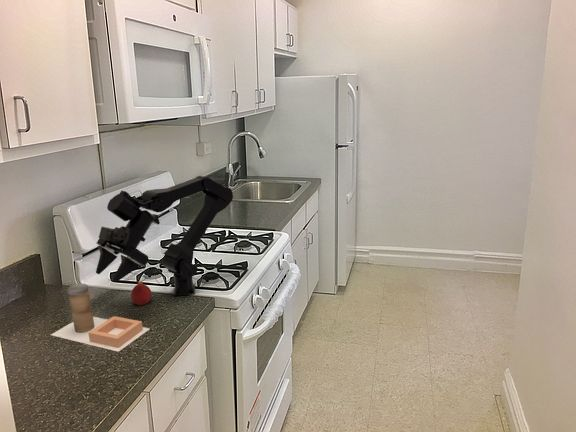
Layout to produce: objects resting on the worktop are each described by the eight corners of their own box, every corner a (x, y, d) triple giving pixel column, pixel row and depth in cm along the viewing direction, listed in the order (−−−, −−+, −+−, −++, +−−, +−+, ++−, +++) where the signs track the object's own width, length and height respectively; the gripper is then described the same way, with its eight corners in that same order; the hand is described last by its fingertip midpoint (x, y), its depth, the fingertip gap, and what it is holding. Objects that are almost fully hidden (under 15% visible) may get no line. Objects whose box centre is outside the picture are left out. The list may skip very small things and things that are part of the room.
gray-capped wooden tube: (77, 324, 135) (70, 284, 132) (96, 322, 136) (89, 282, 133) (72, 333, 130) (65, 292, 127) (92, 331, 131) (85, 290, 128)
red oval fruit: (147, 311, 144) (143, 286, 142) (129, 309, 146) (125, 285, 143) (155, 302, 150) (153, 278, 148) (138, 301, 151) (135, 277, 149)
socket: (114, 324, 135) (113, 316, 134) (142, 329, 131) (141, 321, 130) (89, 341, 126) (88, 332, 126) (118, 347, 123) (117, 338, 122)
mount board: (51, 338, 131) (50, 334, 130) (85, 318, 141) (85, 314, 141) (119, 355, 121) (118, 351, 121) (150, 332, 132) (149, 328, 132)
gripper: (98, 209, 140) (66, 257, 136) (133, 220, 128) (99, 272, 124) (126, 229, 148) (97, 274, 143) (162, 240, 136) (131, 290, 131)
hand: (105, 277), depth 135 cm, fingers open, 9 cm apart
